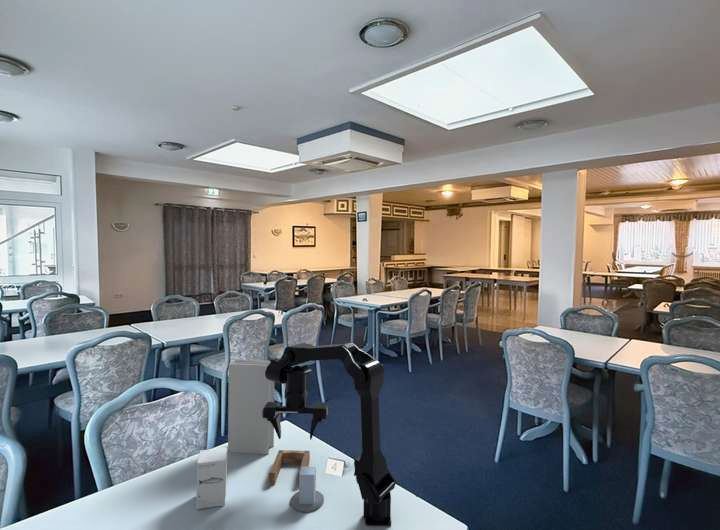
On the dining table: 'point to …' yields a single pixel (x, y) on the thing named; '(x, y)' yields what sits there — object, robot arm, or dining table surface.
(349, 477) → the dining table surface
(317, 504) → the coaster
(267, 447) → the tall grey box
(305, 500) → the block
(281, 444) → the dining table surface
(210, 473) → the supplement box
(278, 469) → the frame
